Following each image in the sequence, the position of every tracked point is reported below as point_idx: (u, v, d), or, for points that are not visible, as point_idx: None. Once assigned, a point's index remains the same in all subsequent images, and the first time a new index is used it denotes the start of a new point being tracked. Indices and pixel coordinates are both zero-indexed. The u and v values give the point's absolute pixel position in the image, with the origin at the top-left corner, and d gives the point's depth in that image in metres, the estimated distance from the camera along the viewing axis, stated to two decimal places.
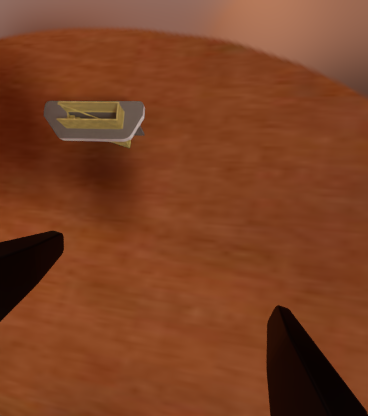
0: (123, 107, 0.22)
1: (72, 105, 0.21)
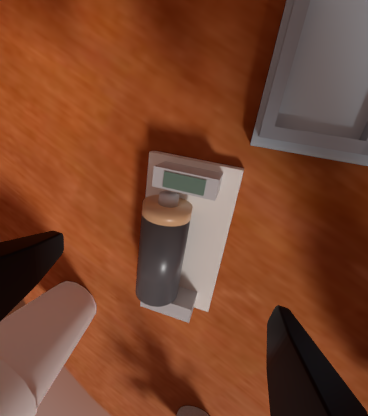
0: None
1: None
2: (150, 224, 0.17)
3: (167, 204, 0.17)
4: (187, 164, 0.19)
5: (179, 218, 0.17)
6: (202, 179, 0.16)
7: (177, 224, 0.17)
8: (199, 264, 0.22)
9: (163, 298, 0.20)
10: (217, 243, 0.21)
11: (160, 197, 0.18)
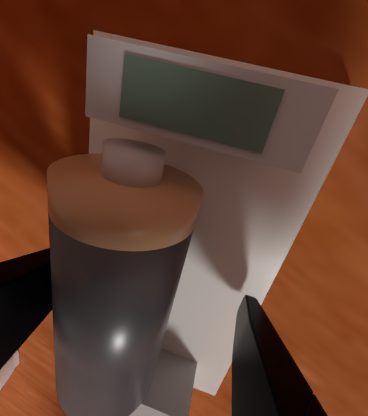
0: None
1: None
2: (60, 236, 0.05)
3: (123, 176, 0.05)
4: None
5: (155, 226, 0.05)
6: (266, 87, 0.04)
7: (148, 245, 0.05)
8: (206, 316, 0.10)
9: (110, 413, 0.08)
10: (254, 279, 0.09)
11: (105, 150, 0.05)
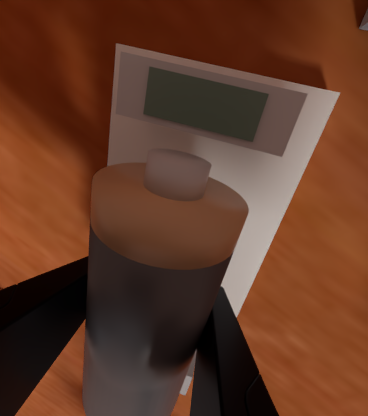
0: None
1: None
2: (167, 275, 0.05)
3: (193, 191, 0.05)
4: None
5: (242, 227, 0.06)
6: (255, 91, 0.06)
7: (235, 245, 0.06)
8: None
9: (174, 403, 0.09)
10: (249, 253, 0.10)
11: (170, 170, 0.05)
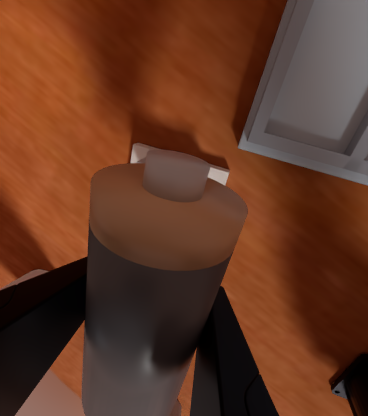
0: None
1: None
2: (165, 276, 0.05)
3: (192, 192, 0.05)
4: None
5: (241, 228, 0.06)
6: None
7: (234, 246, 0.06)
8: None
9: (173, 404, 0.09)
10: None
11: (169, 171, 0.05)
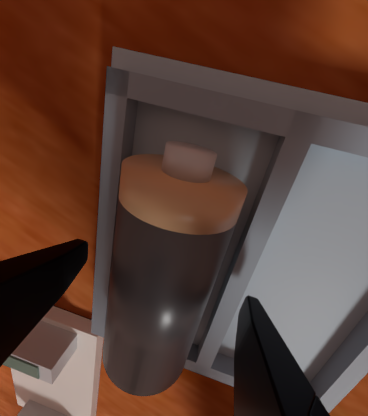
0: None
1: None
2: (183, 239, 0.06)
3: (203, 175, 0.07)
4: None
5: (242, 204, 0.07)
6: (33, 365, 0.14)
7: (237, 219, 0.07)
8: (72, 399, 0.20)
9: (183, 364, 0.10)
10: (85, 387, 0.19)
11: (185, 157, 0.06)
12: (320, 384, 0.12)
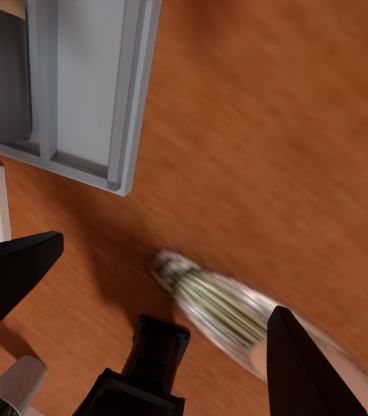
0: None
1: None
2: None
3: None
4: None
5: (9, 0, 0.14)
6: None
7: (8, 10, 0.14)
8: None
9: (13, 130, 0.17)
10: None
11: None
12: None
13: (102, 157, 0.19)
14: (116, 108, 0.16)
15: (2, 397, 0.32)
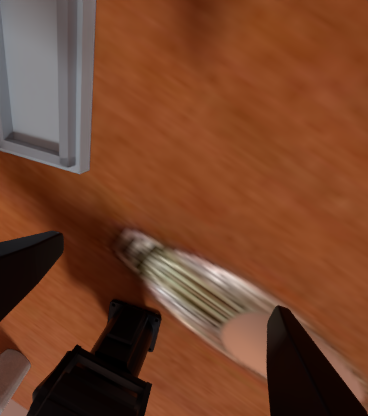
0: None
1: None
2: None
3: None
4: None
5: None
6: None
7: None
8: None
9: None
10: None
11: None
12: None
13: (55, 135, 0.20)
14: (58, 82, 0.17)
15: None
